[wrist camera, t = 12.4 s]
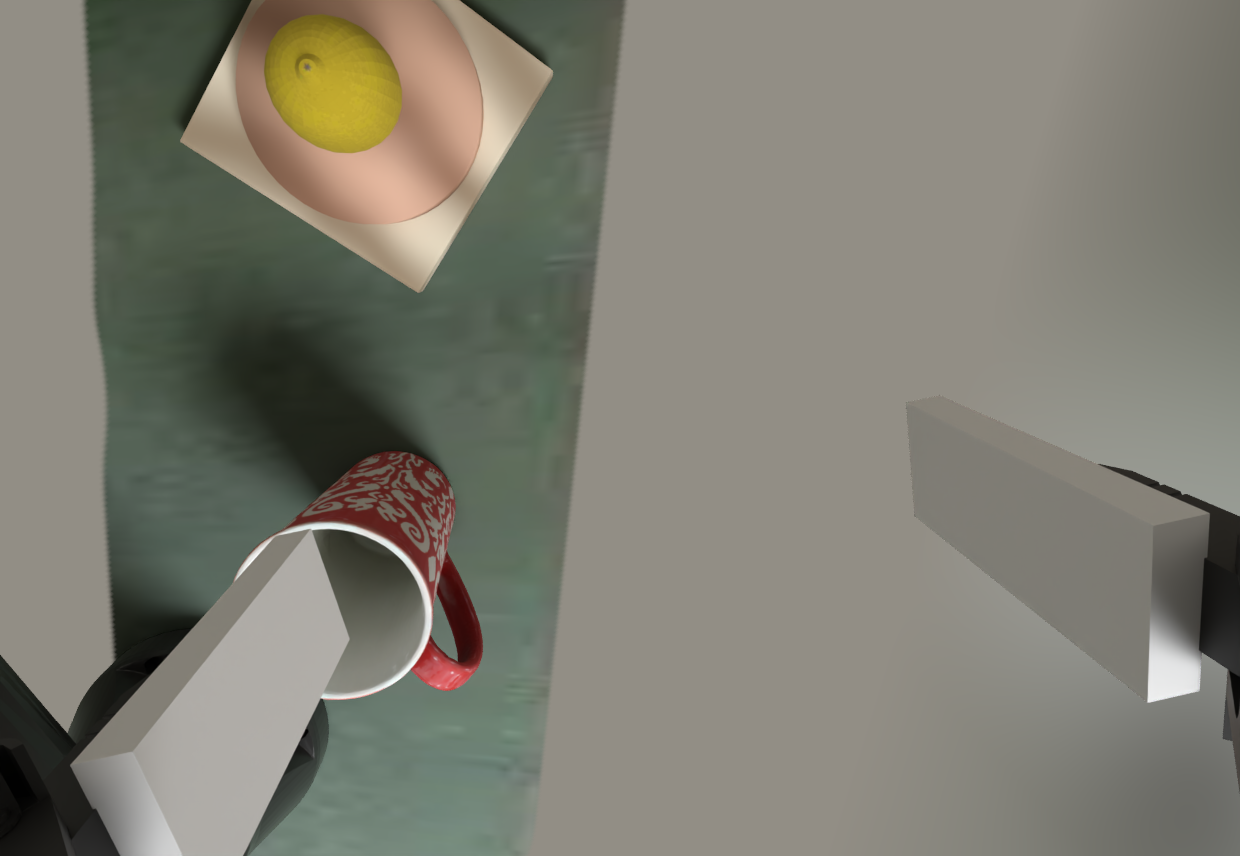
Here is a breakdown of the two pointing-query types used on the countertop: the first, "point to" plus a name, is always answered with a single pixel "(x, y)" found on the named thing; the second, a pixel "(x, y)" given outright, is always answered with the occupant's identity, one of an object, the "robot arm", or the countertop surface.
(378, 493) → the mug
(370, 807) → the countertop surface
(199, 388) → the countertop surface
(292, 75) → the lemon
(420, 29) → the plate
